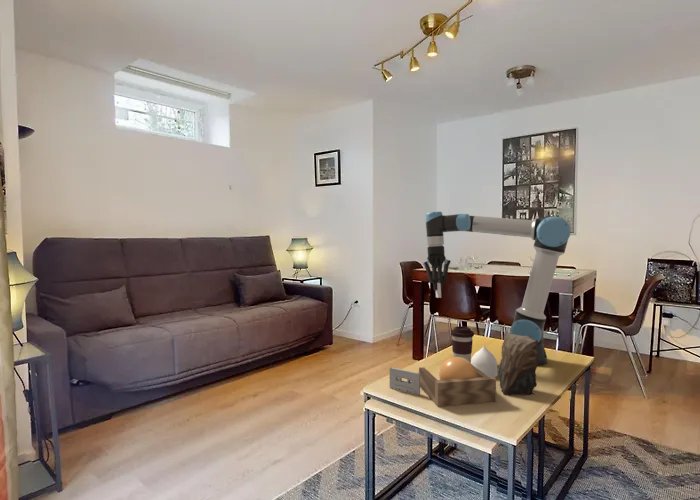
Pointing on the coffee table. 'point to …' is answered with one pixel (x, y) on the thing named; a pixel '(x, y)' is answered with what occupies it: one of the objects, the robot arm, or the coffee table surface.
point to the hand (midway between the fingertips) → (438, 297)
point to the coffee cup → (462, 342)
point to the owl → (518, 365)
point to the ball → (457, 369)
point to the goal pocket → (458, 389)
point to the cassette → (407, 385)
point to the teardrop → (485, 362)
